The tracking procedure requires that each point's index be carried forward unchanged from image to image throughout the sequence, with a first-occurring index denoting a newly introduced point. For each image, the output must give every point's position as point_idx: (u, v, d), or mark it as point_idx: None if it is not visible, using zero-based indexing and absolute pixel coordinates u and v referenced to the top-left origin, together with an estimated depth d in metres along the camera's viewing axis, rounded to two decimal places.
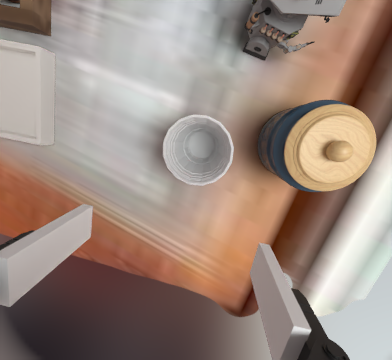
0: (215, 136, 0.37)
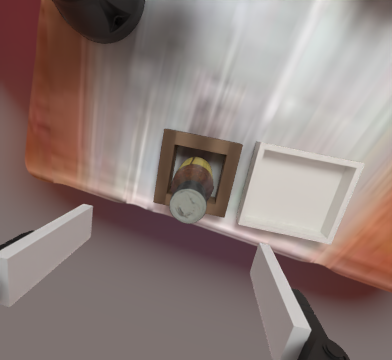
0: None
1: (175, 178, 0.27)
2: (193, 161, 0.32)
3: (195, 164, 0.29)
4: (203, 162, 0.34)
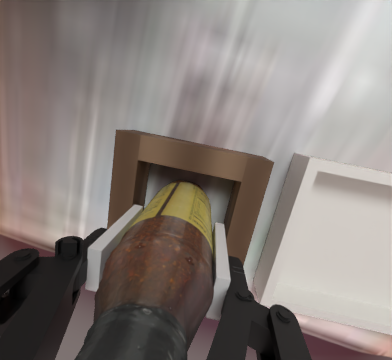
0: None
1: (104, 270, 0.09)
2: (169, 201, 0.14)
3: (169, 216, 0.12)
4: (193, 199, 0.16)
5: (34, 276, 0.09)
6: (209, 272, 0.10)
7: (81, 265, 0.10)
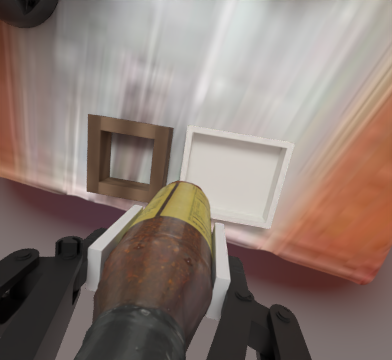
0: None
1: (103, 271, 0.09)
2: (169, 202, 0.14)
3: (168, 217, 0.12)
4: (192, 200, 0.16)
5: (34, 276, 0.09)
6: (208, 273, 0.10)
7: (81, 265, 0.10)
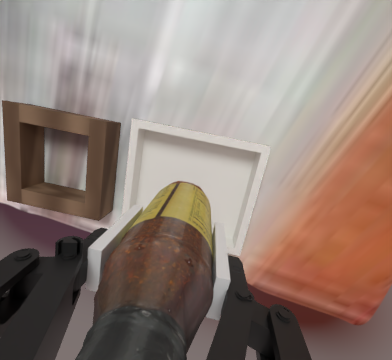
0: None
1: (104, 272, 0.09)
2: (169, 202, 0.14)
3: (169, 218, 0.12)
4: (193, 200, 0.16)
5: (34, 276, 0.09)
6: (209, 274, 0.10)
7: (81, 265, 0.10)
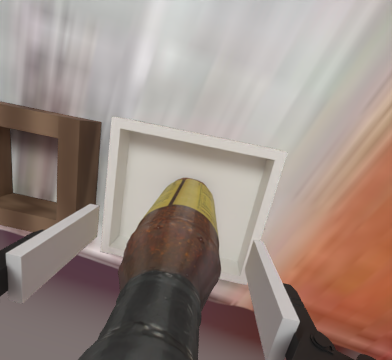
0: None
1: (127, 249, 0.11)
2: (179, 194, 0.16)
3: (180, 205, 0.14)
4: (199, 193, 0.18)
5: None
6: (217, 251, 0.12)
7: None
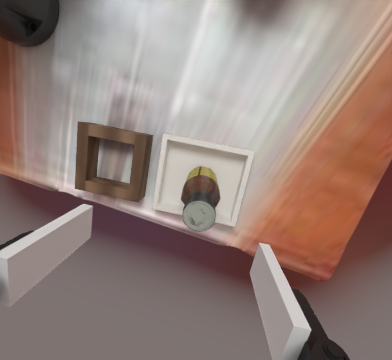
0: None
1: (185, 189, 0.29)
2: (200, 172, 0.34)
3: (203, 175, 0.32)
4: (209, 172, 0.36)
5: None
6: (218, 191, 0.30)
7: None
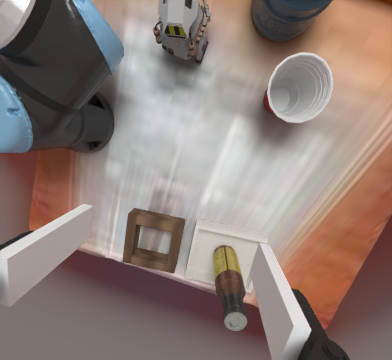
0: (274, 82, 0.40)
1: (220, 286, 0.40)
2: (227, 262, 0.45)
3: (231, 269, 0.42)
4: (233, 259, 0.47)
5: None
6: None
7: None
